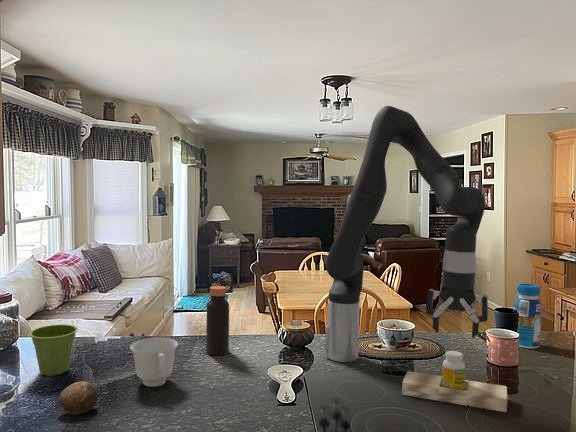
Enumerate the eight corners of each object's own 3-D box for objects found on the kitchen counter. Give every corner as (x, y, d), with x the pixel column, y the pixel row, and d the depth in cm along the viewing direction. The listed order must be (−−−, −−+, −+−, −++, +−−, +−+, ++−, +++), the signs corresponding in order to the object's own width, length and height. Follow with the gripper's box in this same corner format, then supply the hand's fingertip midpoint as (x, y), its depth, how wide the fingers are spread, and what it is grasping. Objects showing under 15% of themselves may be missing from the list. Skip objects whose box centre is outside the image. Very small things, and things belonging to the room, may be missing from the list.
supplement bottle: (451, 385, 131) (452, 348, 130) (469, 392, 126) (470, 354, 126) (437, 389, 128) (438, 352, 127) (455, 397, 123) (456, 358, 122)
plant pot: (22, 371, 138) (22, 330, 137) (66, 360, 147) (66, 321, 146) (40, 383, 130) (39, 340, 129) (85, 371, 139) (85, 330, 138)
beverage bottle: (506, 341, 172) (509, 282, 171) (530, 340, 173) (533, 282, 172) (520, 349, 164) (524, 288, 163) (545, 349, 165) (548, 287, 164)
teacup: (137, 399, 122) (137, 358, 121) (126, 378, 135) (126, 340, 134) (187, 391, 127) (187, 351, 126) (171, 370, 140) (171, 335, 140)
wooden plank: (401, 394, 127) (402, 381, 127) (407, 382, 135) (407, 371, 135) (506, 412, 119) (507, 398, 118) (505, 398, 126) (506, 386, 126)
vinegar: (233, 351, 157) (234, 287, 156) (218, 357, 151) (219, 290, 150) (216, 347, 161) (216, 284, 159) (201, 353, 155) (202, 288, 154)
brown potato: (68, 386, 121) (72, 370, 117) (100, 398, 122) (105, 383, 118) (50, 415, 114) (54, 399, 111) (84, 428, 115) (89, 412, 111)
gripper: (426, 268, 123) (423, 334, 125) (490, 274, 118) (485, 343, 119) (430, 264, 130) (427, 326, 132) (490, 269, 125) (486, 334, 126)
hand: (455, 334), depth 125 cm, fingers open, 8 cm apart
